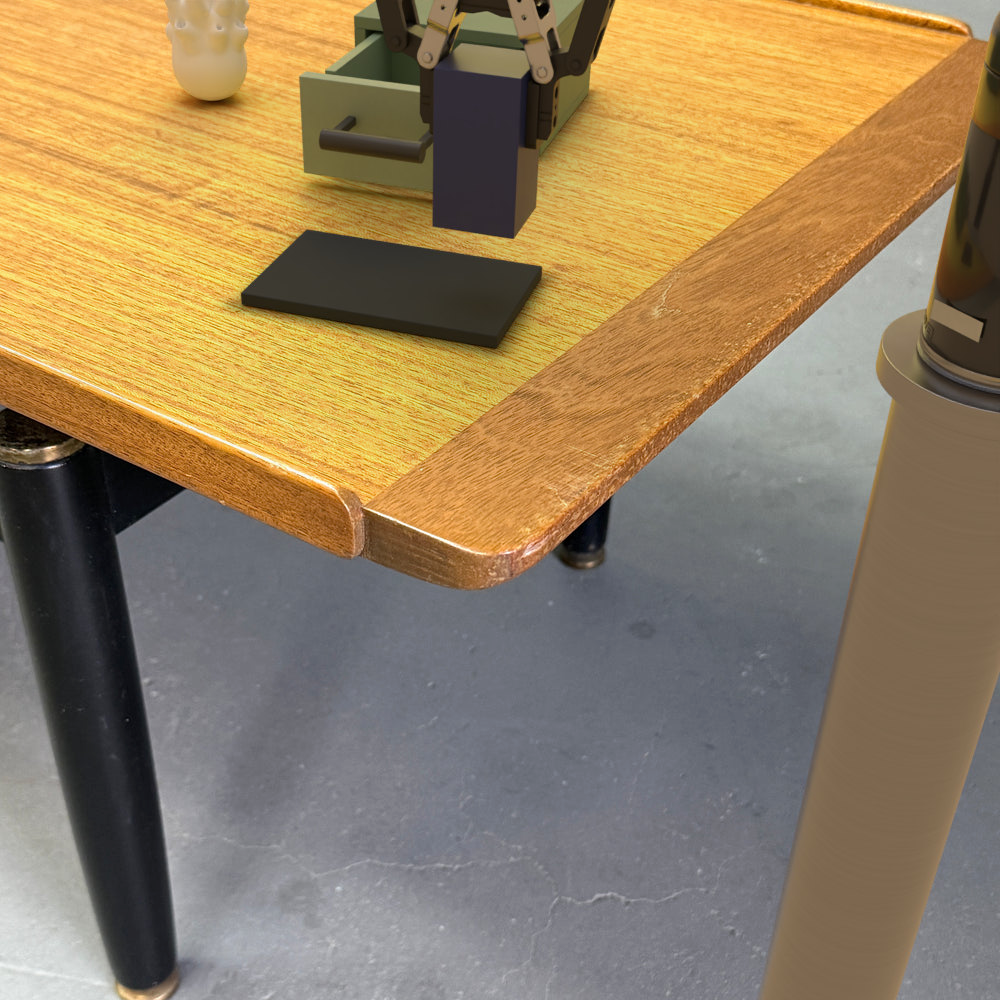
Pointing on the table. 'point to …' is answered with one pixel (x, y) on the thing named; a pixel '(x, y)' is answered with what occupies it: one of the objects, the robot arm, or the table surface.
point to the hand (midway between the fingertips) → (488, 136)
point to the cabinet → (501, 43)
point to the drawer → (368, 118)
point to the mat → (396, 287)
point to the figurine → (208, 46)
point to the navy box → (482, 142)
